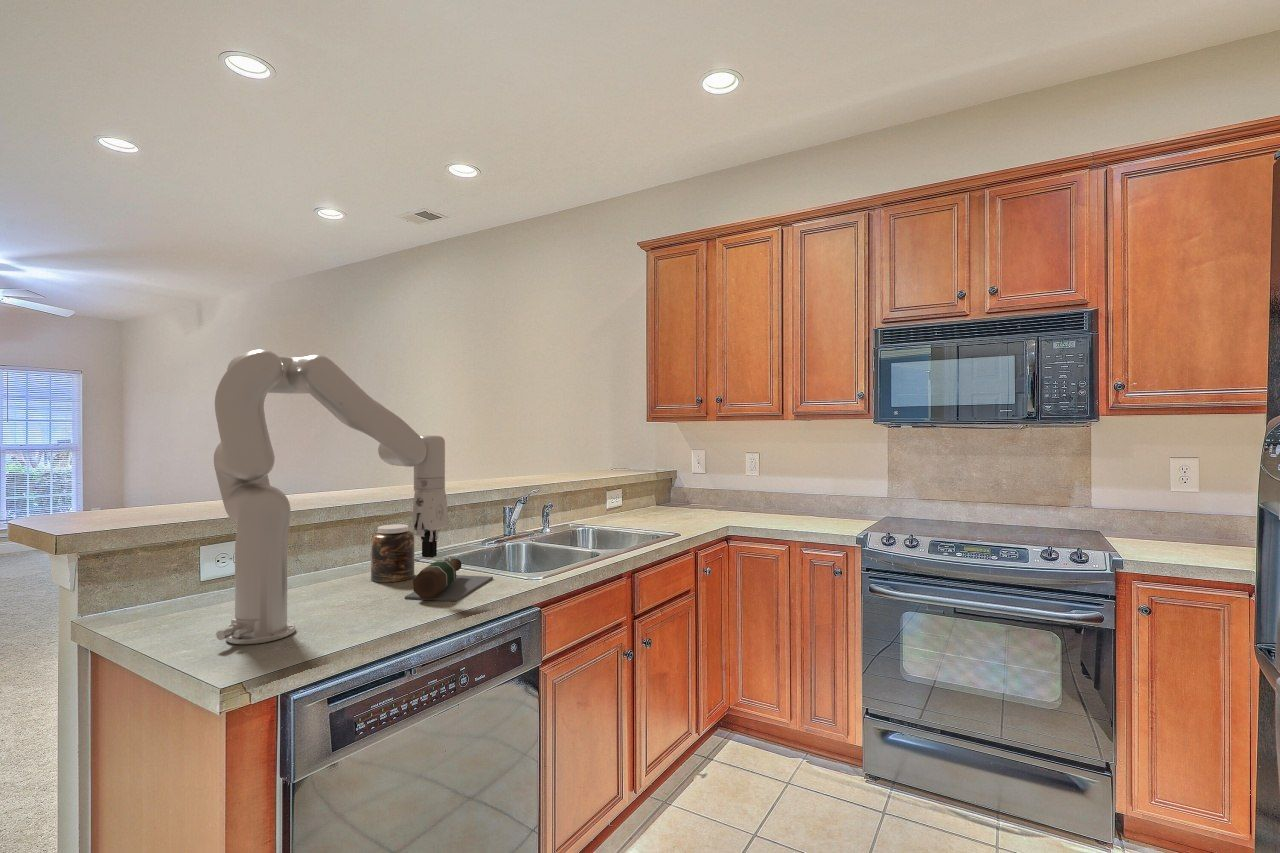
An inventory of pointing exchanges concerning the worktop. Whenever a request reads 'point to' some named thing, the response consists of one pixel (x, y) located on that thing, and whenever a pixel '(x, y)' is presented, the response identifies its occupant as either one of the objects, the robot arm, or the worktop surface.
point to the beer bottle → (435, 578)
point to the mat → (457, 588)
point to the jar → (392, 554)
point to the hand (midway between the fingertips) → (429, 556)
